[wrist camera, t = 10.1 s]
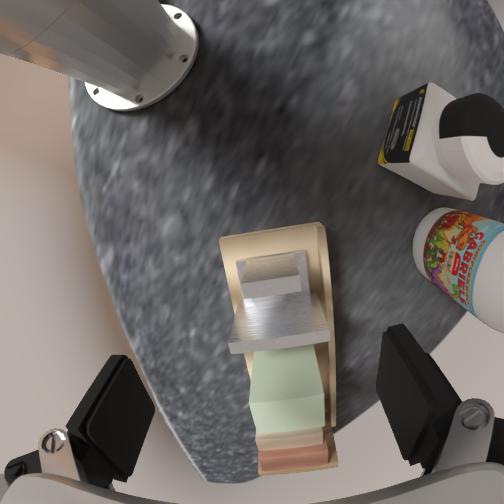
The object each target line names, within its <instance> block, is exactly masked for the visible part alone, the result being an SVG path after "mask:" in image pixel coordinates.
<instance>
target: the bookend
mask: <svg viewBox="0 0 504 504" xmlns="http://www.w3.org/2000/svg"><path fill="white" fill-rule="evenodd" d="M236 267H237V272H238V277H239V281H240V286H241V291H242V296H243V301H240V302H238V305H237V309H236V313H235V317H234V321H233V326H232V330H231V334H230V338H229V342H228V344H229V348H230V352H231V354H238V353H248V352H258V351H266V350H274V349H282V348H289V347H296V346H303V345H309V344H316V343H321V342H327V341H330V329H329V326H328V323H327V320H326V318H325V315H324V312H323V309H322V306H321V304H320V301H319V298H318V295H317V293H316V290H315V291H310V289H309V280H308V272H307V264H306V256H305V250H298V251H292V252H285V253H279V254H273V255H266V256H260V257H253V258H247V259H240V260H236Z"/></svg>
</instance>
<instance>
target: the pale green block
mask: <svg viewBox="0 0 504 504" xmlns="http://www.w3.org/2000/svg"><path fill="white" fill-rule="evenodd" d="M249 405H250V409H251V413H252V416H253V420H254V423H255V426H256V430H257V433H258V434H264V433H276V432H286V431H295V430H303V429H310V428H317V427H323V426H325V409H324V392H323V387H322V382H321V377H320V373H319V368H318V363H317V359H316V354H315V350H314V345H313V344H309V345H303V346H296V347H289V348H282V349H274V350H266V351H258V352H254V357H253V367H252V377H251V387H250V397H249Z"/></svg>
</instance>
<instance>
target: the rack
mask: <svg viewBox="0 0 504 504" xmlns="http://www.w3.org/2000/svg"><path fill="white" fill-rule="evenodd" d="M219 244H220V248H221V253H222V258H223V263H224V267H225V272H226V276H227V281H228V286H229V290H230V295H231V299H232V303H233V308H234V312H235V313H236V309H237V305H238V302H240V301H243V296H242V291H241V286H240V281H239V277H238V272H237V267H236V260H240V259H247V258H253V257H260V256H266V255H273V254H279V253H285V252H292V251H298V250H305V256H306V264H307V272H308V280H309V289H310V291H315V290H316V293H317V295H318V298H319V301H320V304H321V306H322V309H323V312H324V315H325V318H326V320H327V323H328V326H329V329H330V341H327V342H321V343H316V344H313V345H314V350H315V354H316V359H317V363H318V368H319V373H320V377H321V382H322V387H323V392H324V409H325V426H323V427H317V428H310V429H303V430H295V431H286V432H276V433H264V434H258V433H257V430H256V439H255V441H256V444H257V447H258V450H259V455H258V459H259V466H258V472H259V475H276V474H289V473H298V472H307V471H314V470H321V469H327V468H333V467H338V458H337V452H336V447H335V442H334V436H333V431H332V427H335V426H336V363H335V336H334V318H333V303H332V290H331V278H330V267H329V257H328V248H327V239H326V230H325V227H324V226H323V225H322V224H321V223H320V222H313V223H306V224H300V225H293V226H287V227H280V228H274V229H268V230H262V231H255V232H249V233H243V234H237V235H231V236H225V237H221V238H220V239H219ZM244 355H245V359H246V363H247V367H248V371H249V375H250V379H251V377H252V367H253V357H254V352H248V353H244Z"/></svg>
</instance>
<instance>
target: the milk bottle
mask: <svg viewBox="0 0 504 504" xmlns="http://www.w3.org/2000/svg"><path fill="white" fill-rule="evenodd" d="M412 251H413V258H414V262H415V264H416V267H417V268H418V270H419V271H420V273H421V274H422V275H424V276H425V277H426V278H427V279H428V280H430V281H431V282H432V283H434V284H435V285H436V286H437V287H439V288H440V289H441V290H442V291H444V292H445V293H446V294H448V295H449V296H450V297H451V298H453V299H454V300H455V301H456V302H458V303H459V304H460V305H461V306H463V307H464V308H465V309H466V310H468V311H469V312H470V313H471V314H472V315H474V316H475V317H477V318H478V319H479V320H481V321H482V322H483V323H484V324H486V325H488V326H489V327H491V328H493V329H495V330H497V331H500V332H503V333H504V224H503V223H500V222H497V221H494V220H491V219H488V218H485V217H481V216H478V215H475V214H471V213H468V212H464V211H460V210H456V209H452V208H447V207H442V208H438V209H435V210H433V211H431V212H430V213H428V214H427V215H426V216H425V217H424V218H423V219H422V221H421V222H420V223H419V225H418V227H417V229H416V232H415V234H414V239H413V247H412Z"/></svg>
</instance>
